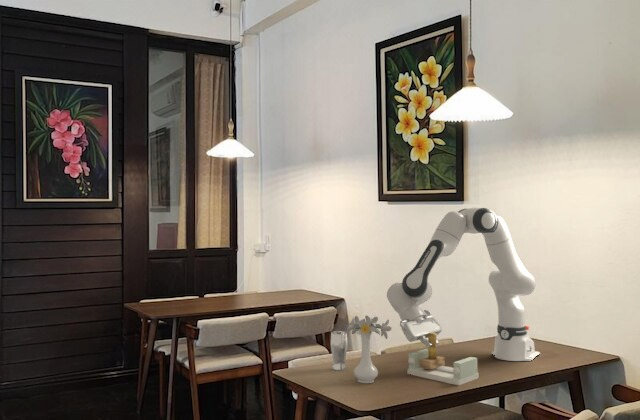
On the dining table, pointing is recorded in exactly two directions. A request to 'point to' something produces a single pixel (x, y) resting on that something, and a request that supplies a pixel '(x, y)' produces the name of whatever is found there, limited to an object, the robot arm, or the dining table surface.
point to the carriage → (432, 355)
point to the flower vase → (367, 346)
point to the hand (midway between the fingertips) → (433, 345)
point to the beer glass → (339, 350)
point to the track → (444, 369)
